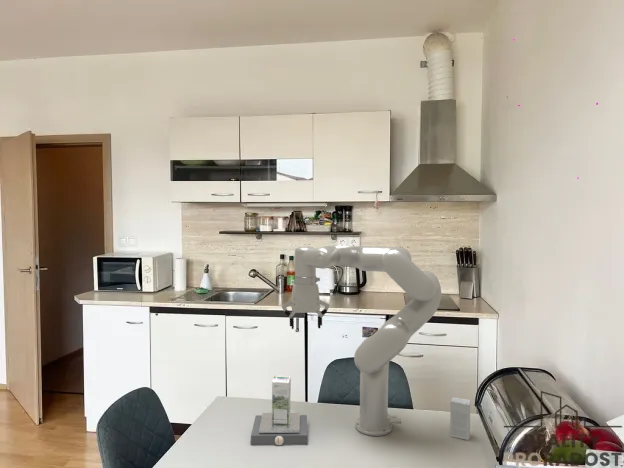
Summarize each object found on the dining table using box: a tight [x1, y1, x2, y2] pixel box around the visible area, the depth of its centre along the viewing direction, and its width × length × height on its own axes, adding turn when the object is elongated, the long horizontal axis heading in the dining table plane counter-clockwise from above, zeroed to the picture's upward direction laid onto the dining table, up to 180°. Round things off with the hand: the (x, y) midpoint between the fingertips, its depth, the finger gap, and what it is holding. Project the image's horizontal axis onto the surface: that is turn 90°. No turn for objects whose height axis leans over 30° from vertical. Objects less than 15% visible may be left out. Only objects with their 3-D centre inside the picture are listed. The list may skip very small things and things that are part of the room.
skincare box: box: [449, 396, 471, 441], centre depth 145 cm, size 6×4×12 cm
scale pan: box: [259, 412, 301, 433], centre depth 146 cm, size 13×12×1 cm
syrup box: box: [271, 375, 292, 424], centre depth 145 cm, size 6×6×14 cm
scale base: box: [250, 414, 308, 446], centre depth 145 cm, size 18×15×3 cm
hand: (305, 327), depth 158 cm, fingers open, 9 cm apart
